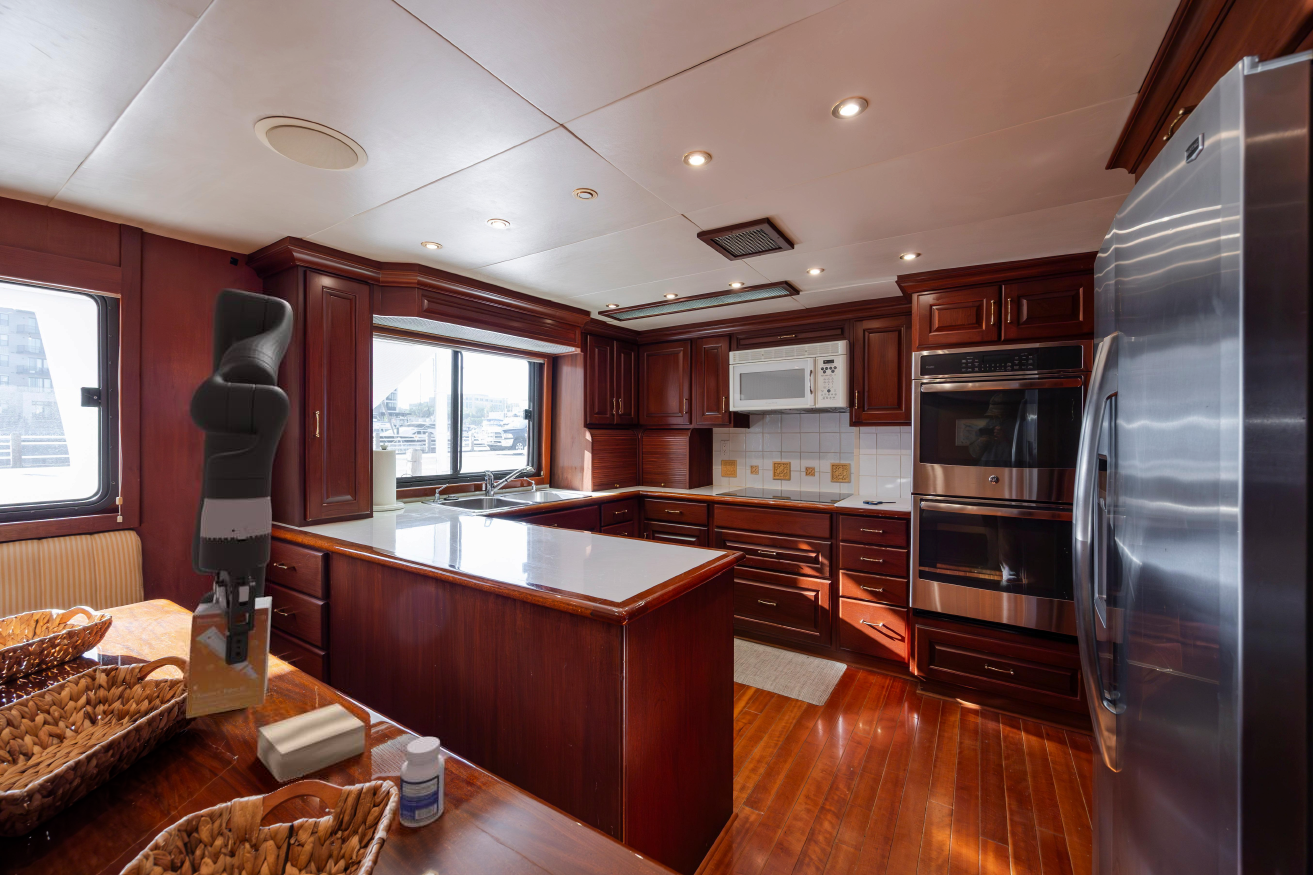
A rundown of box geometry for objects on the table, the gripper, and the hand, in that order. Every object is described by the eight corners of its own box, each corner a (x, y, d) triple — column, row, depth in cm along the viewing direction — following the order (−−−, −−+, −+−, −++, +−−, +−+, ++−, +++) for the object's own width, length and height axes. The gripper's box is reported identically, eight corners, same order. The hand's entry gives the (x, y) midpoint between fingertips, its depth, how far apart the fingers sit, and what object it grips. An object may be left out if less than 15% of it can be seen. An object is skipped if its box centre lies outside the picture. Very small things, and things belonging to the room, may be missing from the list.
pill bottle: (411, 800, 72) (413, 732, 72) (450, 801, 71) (452, 734, 72) (390, 827, 66) (393, 754, 67) (432, 829, 66) (434, 756, 66)
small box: (184, 720, 67) (190, 615, 67) (193, 700, 72) (198, 602, 72) (265, 704, 71) (269, 606, 71) (268, 686, 76) (272, 595, 77)
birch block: (257, 758, 82) (258, 727, 82) (336, 730, 90) (337, 702, 90) (280, 786, 75) (282, 753, 75) (364, 753, 83) (365, 724, 83)
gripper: (193, 527, 74) (187, 647, 74) (208, 540, 64) (201, 679, 64) (259, 523, 80) (254, 634, 79) (282, 534, 70) (277, 662, 69)
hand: (231, 654), depth 72 cm, fingers closed on small box, 7 cm apart
